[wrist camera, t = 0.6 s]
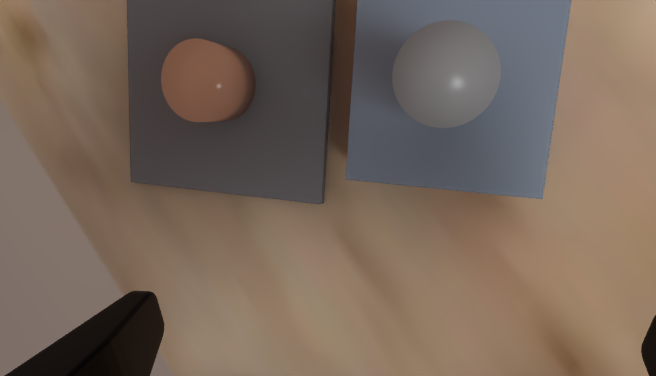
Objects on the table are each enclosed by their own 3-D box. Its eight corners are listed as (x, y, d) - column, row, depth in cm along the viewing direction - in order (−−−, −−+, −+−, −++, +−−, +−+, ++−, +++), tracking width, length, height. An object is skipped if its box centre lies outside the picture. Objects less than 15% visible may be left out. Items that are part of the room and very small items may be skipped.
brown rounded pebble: (254, 123, 24) (232, 124, 21) (189, 119, 25) (161, 119, 23) (256, 46, 23) (233, 39, 21) (189, 45, 24) (160, 37, 22)
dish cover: (527, 185, 21) (599, 252, 11) (362, 169, 23) (286, 213, 13) (551, 7, 20) (662, -115, 9) (374, 8, 22) (299, -92, 11)
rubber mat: (323, 202, 24) (321, 204, 24) (136, 180, 27) (130, 182, 27) (337, -35, 22) (334, -38, 21) (132, -29, 25) (126, -31, 25)
